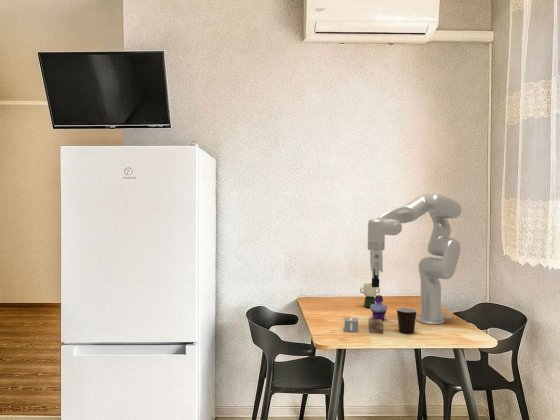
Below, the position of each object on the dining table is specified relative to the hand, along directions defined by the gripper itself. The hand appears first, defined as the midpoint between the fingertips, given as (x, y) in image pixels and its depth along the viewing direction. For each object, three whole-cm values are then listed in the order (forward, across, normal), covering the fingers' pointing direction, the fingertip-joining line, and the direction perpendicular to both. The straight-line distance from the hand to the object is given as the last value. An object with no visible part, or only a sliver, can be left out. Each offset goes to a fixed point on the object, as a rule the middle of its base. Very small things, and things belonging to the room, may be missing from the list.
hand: (375, 286), depth 202 cm
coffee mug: (+20, 0, -14) cm, 24 cm away
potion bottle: (+20, +22, -4) cm, 30 cm away
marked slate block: (+20, 0, +10) cm, 23 cm away
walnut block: (+20, 0, 0) cm, 20 cm away
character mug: (+20, +48, 0) cm, 52 cm away
